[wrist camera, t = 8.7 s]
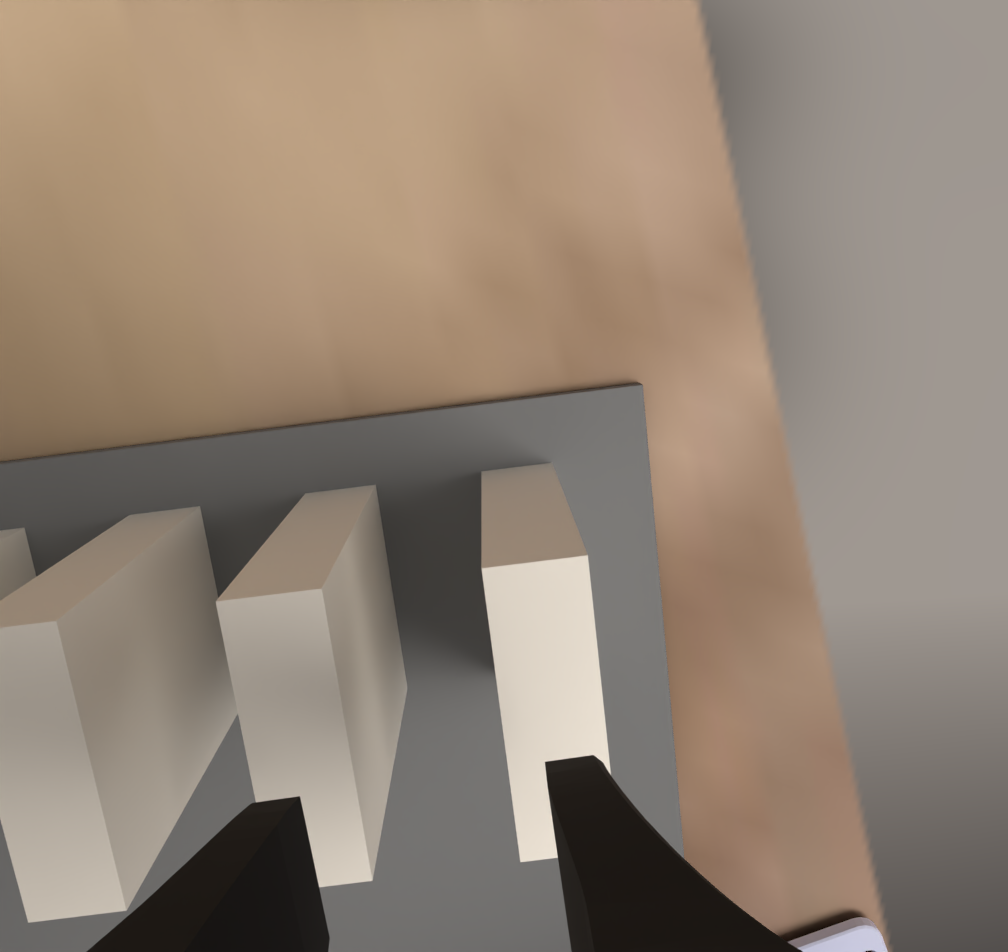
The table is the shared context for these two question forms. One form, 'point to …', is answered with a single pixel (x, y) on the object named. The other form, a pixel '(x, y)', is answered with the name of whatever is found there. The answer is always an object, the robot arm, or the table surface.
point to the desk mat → (403, 643)
